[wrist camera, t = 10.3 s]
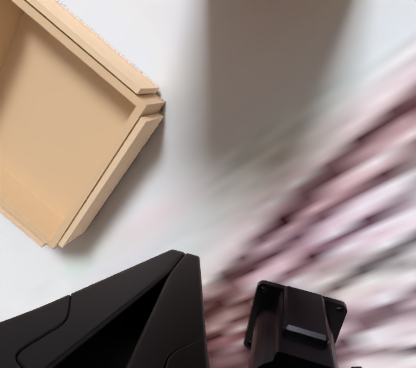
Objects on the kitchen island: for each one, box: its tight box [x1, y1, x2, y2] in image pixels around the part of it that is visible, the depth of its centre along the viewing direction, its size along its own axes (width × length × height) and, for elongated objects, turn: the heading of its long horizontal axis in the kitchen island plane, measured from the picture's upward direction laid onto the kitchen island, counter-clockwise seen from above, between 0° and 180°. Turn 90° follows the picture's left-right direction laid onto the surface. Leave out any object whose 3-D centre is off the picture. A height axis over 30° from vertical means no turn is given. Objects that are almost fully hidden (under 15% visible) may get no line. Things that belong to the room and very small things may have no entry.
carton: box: [0, 0, 165, 249], centre depth 22 cm, size 12×15×3 cm
